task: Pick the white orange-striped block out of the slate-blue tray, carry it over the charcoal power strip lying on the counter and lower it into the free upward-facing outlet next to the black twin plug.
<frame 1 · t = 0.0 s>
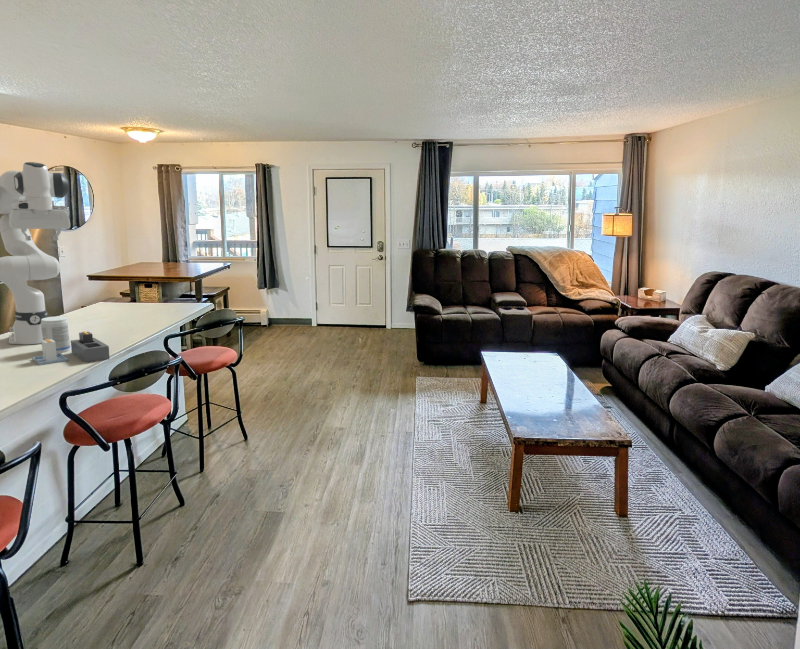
hand: (42, 240, 213), 48 cm above the table, fingers open, 8 cm apart
supplement tub: (57, 352, 229), on the table
slate tray: (50, 361, 216), on the table
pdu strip: (90, 357, 224), on the table
white orange-striped block: (50, 360, 215), resting on slate tray
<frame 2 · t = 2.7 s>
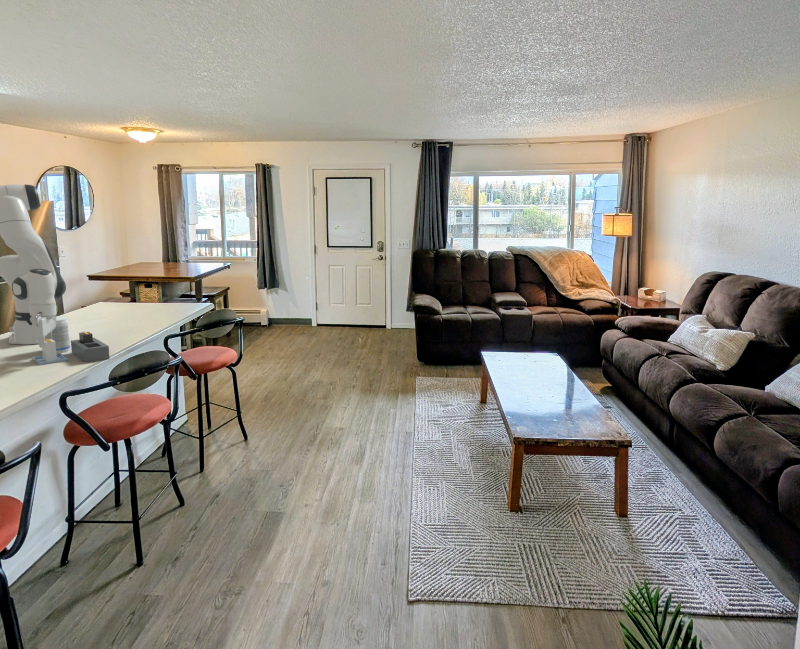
hand: (45, 344, 213), 7 cm above the table, fingers open, 8 cm apart
nothing on the table moved.
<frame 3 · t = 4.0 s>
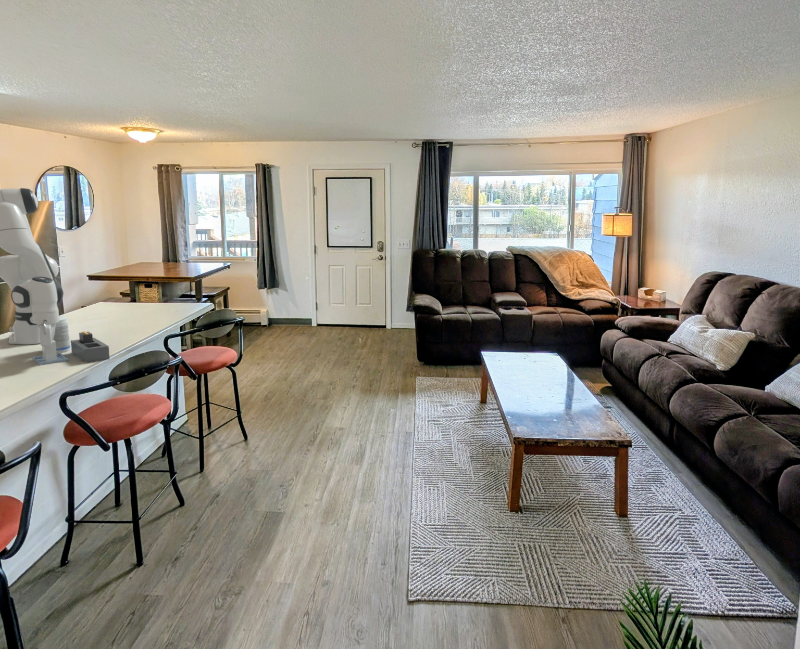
hand: (49, 351, 215), 4 cm above the table, fingers closed on white orange-striped block, 6 cm apart
white orange-striped block: (50, 360, 215), point 1 cm above the table, touching gripper, slate tray
everything else where it was.
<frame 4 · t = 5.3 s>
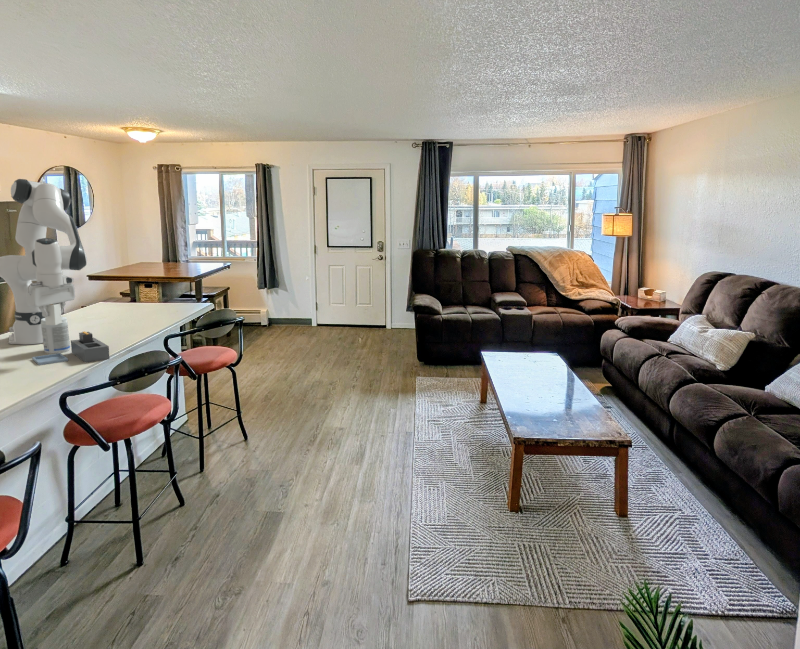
hand: (53, 314, 212), 19 cm above the table, fingers closed on white orange-striped block, 6 cm apart
white orange-striped block: (53, 323, 213), point 16 cm above the table, touching gripper
everything else where it was.
when the fingers open (9 cm above the table, at t = 7.3 s): white orange-striped block stays where it is, resting on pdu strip.
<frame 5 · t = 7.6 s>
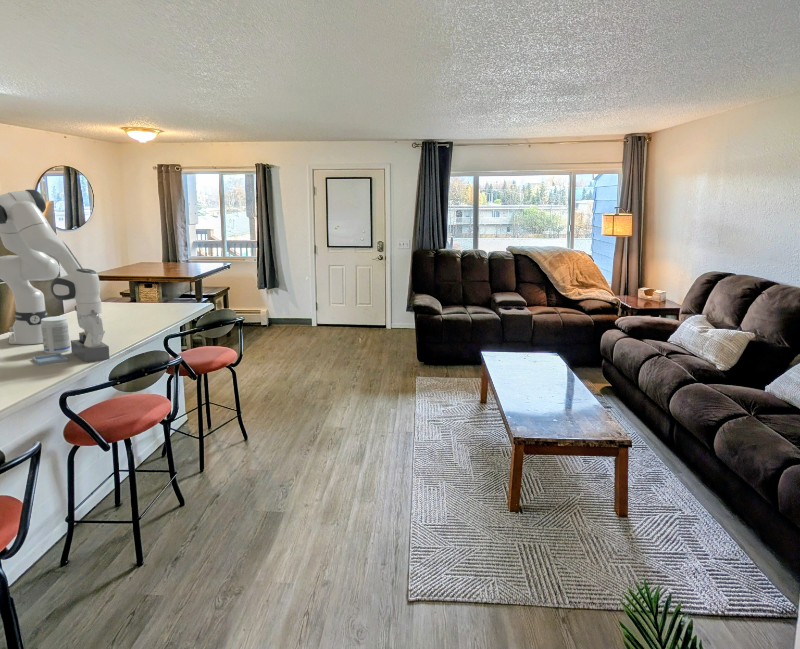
hand: (91, 341, 219), 8 cm above the table, fingers open, 6 cm apart
white orange-striped block: (91, 347, 219), point 5 cm above the table, tilted 21°, touching gripper, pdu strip
everything else where it was.
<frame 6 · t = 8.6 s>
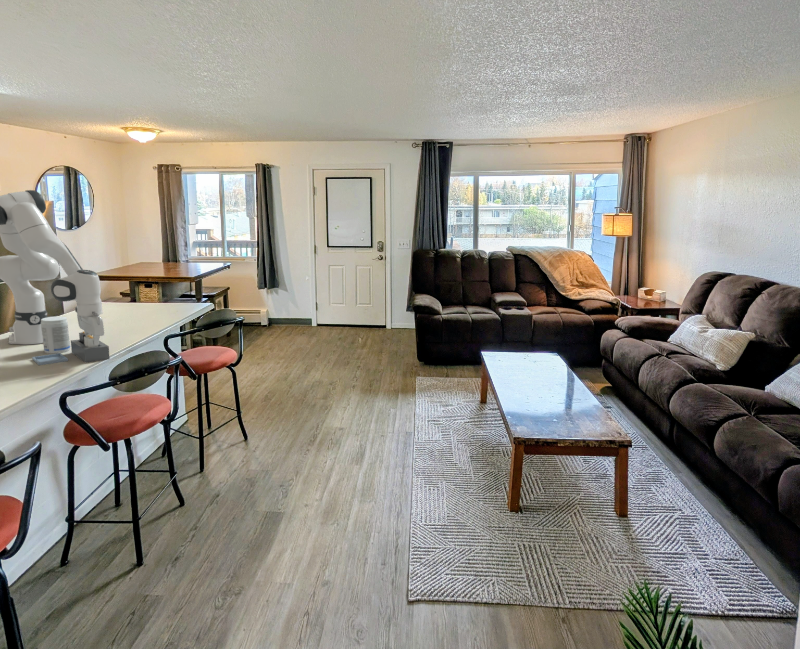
hand: (92, 342, 220), 7 cm above the table, fingers open, 7 cm apart
white orange-striped block: (92, 355, 220), point 1 cm above the table, touching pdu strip
everything else where it was.
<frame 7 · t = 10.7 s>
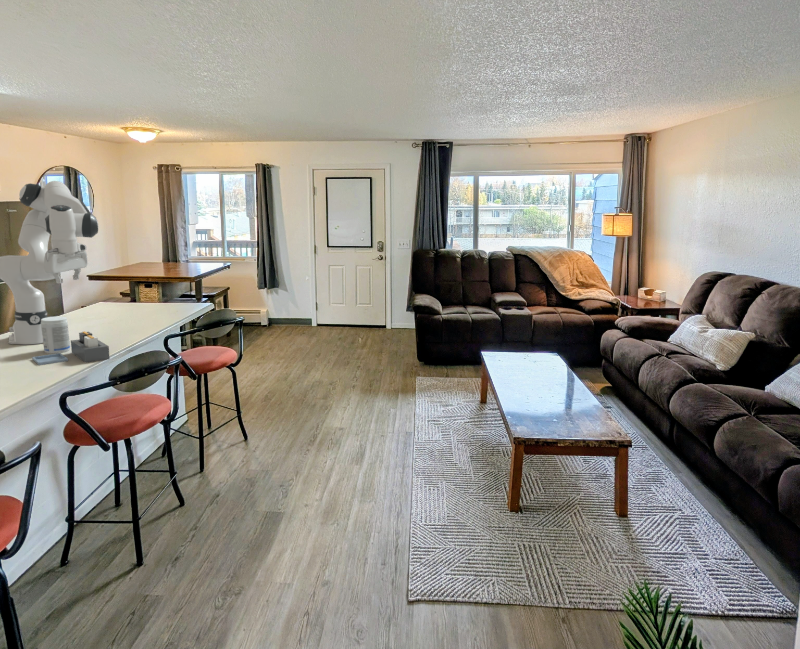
hand: (68, 281, 216), 32 cm above the table, fingers open, 8 cm apart
nothing on the table moved.
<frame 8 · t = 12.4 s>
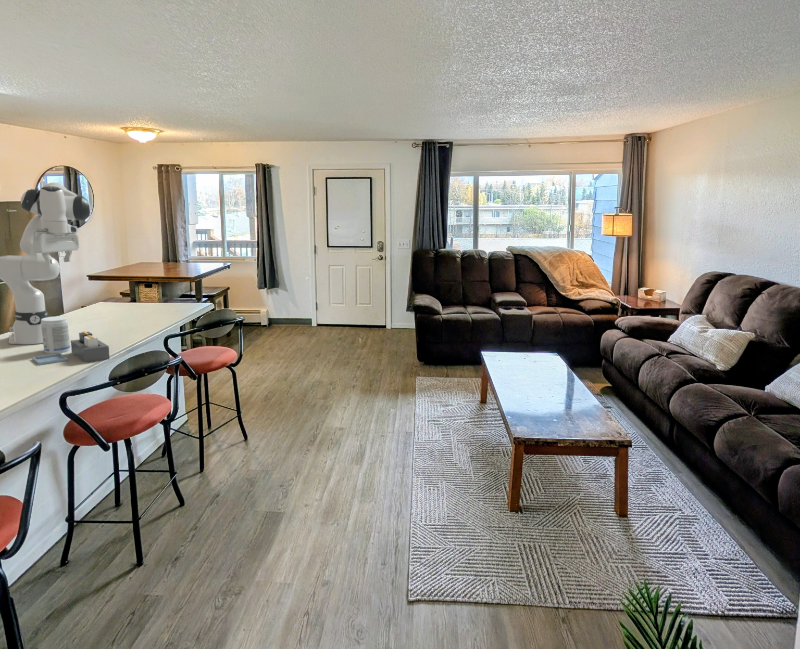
hand: (58, 263, 216), 39 cm above the table, fingers open, 8 cm apart
nothing on the table moved.
at the end: white orange-striped block 0.5 cm from the target spot on the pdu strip, point 1.5 cm above the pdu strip's base; white orange-striped block tilted 0°; the gripper is holding nothing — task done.
